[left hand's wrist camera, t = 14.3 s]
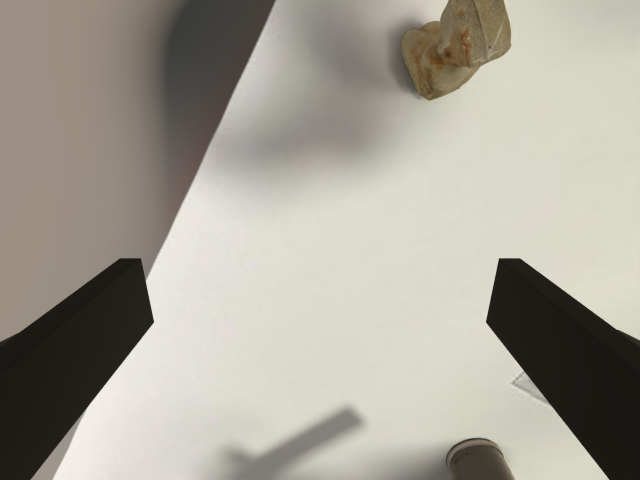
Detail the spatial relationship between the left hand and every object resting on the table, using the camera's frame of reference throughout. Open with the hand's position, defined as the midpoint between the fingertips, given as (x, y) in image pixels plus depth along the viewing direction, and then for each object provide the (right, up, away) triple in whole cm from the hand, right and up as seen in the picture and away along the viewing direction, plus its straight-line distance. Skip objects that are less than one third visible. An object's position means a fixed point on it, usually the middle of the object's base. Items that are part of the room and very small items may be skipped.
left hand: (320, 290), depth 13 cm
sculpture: (+12, +21, +25) cm, 35 cm away
